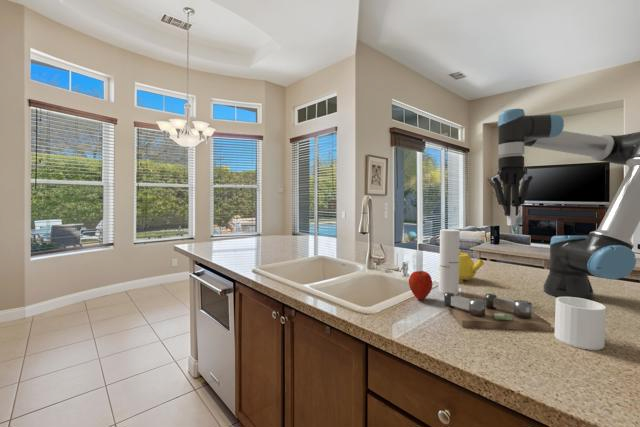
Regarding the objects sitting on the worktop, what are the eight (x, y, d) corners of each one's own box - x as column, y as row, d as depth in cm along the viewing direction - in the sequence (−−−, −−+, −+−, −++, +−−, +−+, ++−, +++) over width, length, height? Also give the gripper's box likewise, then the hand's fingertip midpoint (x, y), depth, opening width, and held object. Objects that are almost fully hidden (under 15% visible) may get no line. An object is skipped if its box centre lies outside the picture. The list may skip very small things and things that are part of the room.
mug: (603, 355, 73) (605, 313, 73) (551, 341, 80) (552, 303, 80) (605, 337, 82) (607, 300, 82) (558, 326, 89) (559, 292, 89)
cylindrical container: (460, 295, 118) (461, 231, 117) (440, 294, 120) (441, 230, 118) (456, 289, 125) (457, 229, 124) (437, 289, 126) (438, 229, 125)
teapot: (492, 282, 136) (493, 251, 135) (473, 288, 127) (474, 255, 126) (450, 273, 152) (451, 246, 152) (431, 278, 143) (432, 249, 143)
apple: (415, 294, 120) (415, 267, 119) (436, 299, 114) (436, 270, 113) (404, 299, 114) (404, 270, 113) (425, 304, 108) (426, 274, 107)
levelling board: (523, 312, 100) (524, 301, 100) (550, 330, 86) (551, 317, 86) (447, 309, 103) (448, 298, 103) (462, 327, 89) (462, 314, 89)
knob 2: (533, 315, 92) (534, 302, 91) (528, 319, 89) (528, 306, 89) (489, 304, 101) (489, 292, 101) (483, 307, 99) (483, 295, 99)
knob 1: (487, 314, 93) (488, 301, 93) (481, 317, 90) (481, 304, 90) (448, 303, 103) (448, 291, 103) (441, 306, 100) (441, 294, 100)
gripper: (524, 157, 107) (524, 223, 108) (486, 158, 108) (486, 224, 109) (538, 154, 100) (538, 225, 101) (496, 155, 101) (496, 226, 102)
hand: (511, 225), depth 105 cm, fingers closed
